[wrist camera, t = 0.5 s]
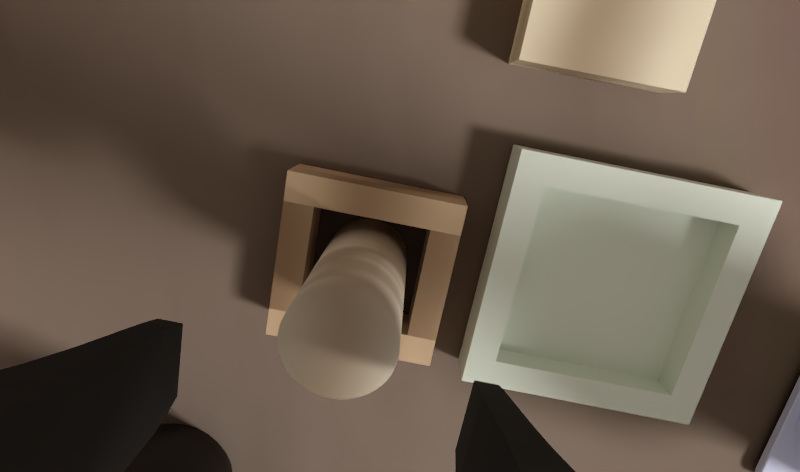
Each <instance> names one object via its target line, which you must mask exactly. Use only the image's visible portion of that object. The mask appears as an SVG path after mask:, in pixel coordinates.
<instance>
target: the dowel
mask: <svg viewBox="0 0 800 472" xmlns="http://www.w3.org/2000/svg"><path fill="white" fill-rule="evenodd" d="M406 268H407V251H406V247H405V244H404V242H403V240H402V238H401V237H400V235H399V234H398V233H397V232H396V231H395V230H394V229H393V228H392V227H390V226H389V225H387V224H386V223H384V222H381V221H378V220H374V219H358V220H355V221H352V222H349V223H347V224H346V225H344V226H343V227H341V228H340V229H339V230H338V231H337V232H336V233H335V235H334V236H333V238H332V239H331V241H330V242H329V244H328V246H327V247H326V249H325V250H324V252H323V254H322V255H321V257H320V258H319V260H318V262H317V263H316V265H315V266H314V268H313V270H312V271H311V273H310V274H309V276H308V278H307V279H306V281H305V282H304V284H303V286H302V287H301V289H300V290H299V292H298V294H297V295H296V297H295V299H294V300H293V302H292V303H291V305H290V307H289V308H288V310H287V311H286V313H285V315H284V316H283V318H282V320H281V323H280V326H279V329H278V335H277V346H278V352H279V356H280V359H281V361H282V364H283V365H284V367H285V369H286V370H287V372H288V373H289V375H290V376H291V377H292V378H293V379H294V380H295V381H296V382H297V383H298V384H299V385H301V386H302V387H303V388H305V389H306V390H308V391H310V392H312V393H314V394H317V395H319V396H322V397H326V398H331V399H353V398H357V397H361V396H364V395H367V394H369V393H371V392H373V391H375V390H376V389H378V388H379V387H380V386H381V385H383V384H384V383H385V382H386V381H387V380H388V378H389V377H390V376H391V374H392V373H393V371H394V369H395V367H396V365H397V362H398V359H399V353H400V342H401V330H402V318H403V305H404V293H405V280H406Z"/></svg>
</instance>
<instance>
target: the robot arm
mask: <svg viewBox="0 0 800 472" xmlns="http://www.w3.org/2000/svg"><path fill="white" fill-rule="evenodd" d="M182 327H183V324H182V323H177V322H172V321H167V320H162V319H155V320H151V321H148V322H145V323H142V324H139V325H136V326H133V327H130V328H127V329H124V330H122V331H119V332H116V333H113V334H111V335H108V336H105V337H102V338H99V339H97V340H94V341H91V342H88V343H86V344H83V345H80V346H77V347H74V348H71V349H68V350H65V351H62V352H59V353H55V354H52V355H49V356H46V357H43V358H40V359H37V360H34V361H31V362H27V363H24V364H20V365H17V366H13V367H10V368H6V369H2V370H0V472H124V471H125V470H126V469H127V467H128V466H129V465H130V464H131V462H132V461H133V460H134V459H135V457H136V456H137V455H138V454H139V452H140V451H141V450H142V449H143V447H144V446H145V445H146V444H147V442H148V441H149V440H150V438H151V437H152V436H153V435H154V433H155V432H156V430H157V429H158V427H159V426H160V424H161V422H162V421H163V419H164V418H165V416H166V414H167V413H168V411H169V409H170V407H171V406H172V404H173V402H174V401H175V399H176V397H177V390H178V378H179V365H180V352H181V340H182ZM456 472H575V471H574V470H573V469H572V468H571V467H570V466H569V465H568V464H567V463H566V462H565V461H564V460H563V459H562V458H561V456H560V455H559V454H558V453H557V452H556V451H555V450H554V449H553V448H552V447H551V446H550V445H549V444H548V442H547V441H546V440H545V439H544V438H543V437H542V436H541V435H540V433H539V432H538V431H537V430H536V429H535V428H534V426H533V425H532V424H531V423H530V422H529V420H528V419H527V418H526V417H525V416H524V414H523V413H522V412H521V411H520V409H519V408H518V407H517V406H516V405H515V403H514V402H513V401H512V400H511V398H510V397H509V396H508V395H507V394H506V392H505V391H504V390H503V389H502V388H501V387H500V386H499V385H496V384H491V383H486V382H481V381H476V380H474V383H473V387H472V391H471V395H470V398H469V402H468V406H467V409H466V413H465V417H464V421H463V424H462V428H461V432H460V435H459V439H458V443H457V447H456ZM755 472H800V376H799V378H798V380H797V382H796V385H795V387H794V389H793V391H792V393H791V395H790V397H789V399H788V401H787V403H786V406H785V408H784V410H783V412H782V414H781V416H780V418H779V420H778V422H777V424H776V427H775V429H774V431H773V433H772V435H771V437H770V439H769V441H768V443H767V445H766V448H765V450H764V452H763V454H762V456H761V458H760V460H759V462H758V464H757V466H756V469H755Z"/></svg>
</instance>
